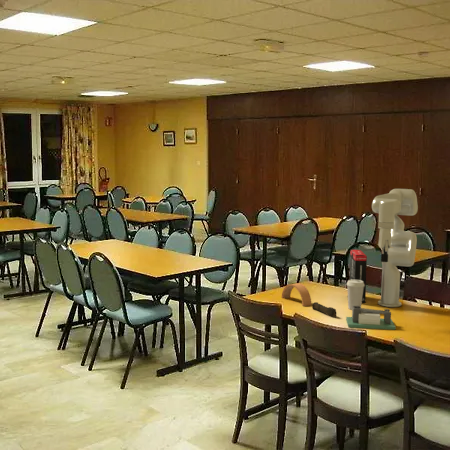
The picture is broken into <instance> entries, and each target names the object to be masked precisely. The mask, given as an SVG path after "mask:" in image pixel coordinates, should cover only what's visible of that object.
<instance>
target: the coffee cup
mask: <svg viewBox="0 0 450 450" xmlns="http://www.w3.org/2000/svg"><path fill="white" fill-rule="evenodd" d="M364 286H365V284H364V282H363V281H361V280H350V279H348V280H347V282H346V287H347V289H346V290H347V303H348V304H347V306H348V309H349V310H351V311H352V306H357V305H358V306H360V308H362V304H363V303H362V296H363V289H364Z"/></svg>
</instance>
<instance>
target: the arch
mask: <svg viewBox="0 0 450 450" xmlns="http://www.w3.org/2000/svg"><path fill="white" fill-rule="evenodd" d="M294 288H295V289H296V290H297V291H298V293H299V295H300V297H301V298H300V299H301V307H308V306H312V298H311V294H310V292H309V290H308V289H307V287H306V286H305V285H304V284H302V283H301V282H300V283H299V282H298V283H297V282H296V283H290V284H287V285H286V286H284V288H283V290H282V292H281V299H289V298H291V294H292V290H293V289H294Z"/></svg>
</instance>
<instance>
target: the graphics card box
mask: <svg viewBox="0 0 450 450" xmlns="http://www.w3.org/2000/svg"><path fill="white" fill-rule="evenodd" d="M349 259H350V260H349V280H361V281H363V282H364V284H365V286H364V289H363V296H362V303H361V304H363V303H364V304H365V303H366V297H367V296H366V292H367V291H366V290H367V265H368V264H367V263H368V262H367V261H368V260H367V259H368V257H367V255H366V254H365V252H364V251H362V250H361V249H350V257H349Z"/></svg>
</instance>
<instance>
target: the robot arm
mask: <svg viewBox="0 0 450 450" xmlns="http://www.w3.org/2000/svg"><path fill="white" fill-rule="evenodd" d="M418 208H419V207H418V197H417V194H416V192H415V190H414V189H410V188H409V189H408V188H393V189H391V190H390V191H389V193H384V194H378V195H376V196H375V197H374V198H373V200H372V202H371V209H372V212H373V213H375V214H378V227H377V228H378V229H379V236H378V247H379V248H380V249H381V254H380V261H381V265H382V266H381V267H382V270H381V271H382V272H381V290H380V291H381V292H380V293H381V294H380V299H379V300H378V301H377V305H379V306H381V307H387V308H399V307H401V306H402V302H401V301H400V286H401V272H400V270H399V269H398V266H399V267H412V266H414V264H415V259H416V253H417V252H416V251H417V242H418V241H417V239H418V238H417V234H416V233H415V232H413V231H408V230H407V231H406V230H404V229H405V222H404V221H403V220H402V218H400V216H415V215H416V214H417V213H418V210H419V209H418Z"/></svg>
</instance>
